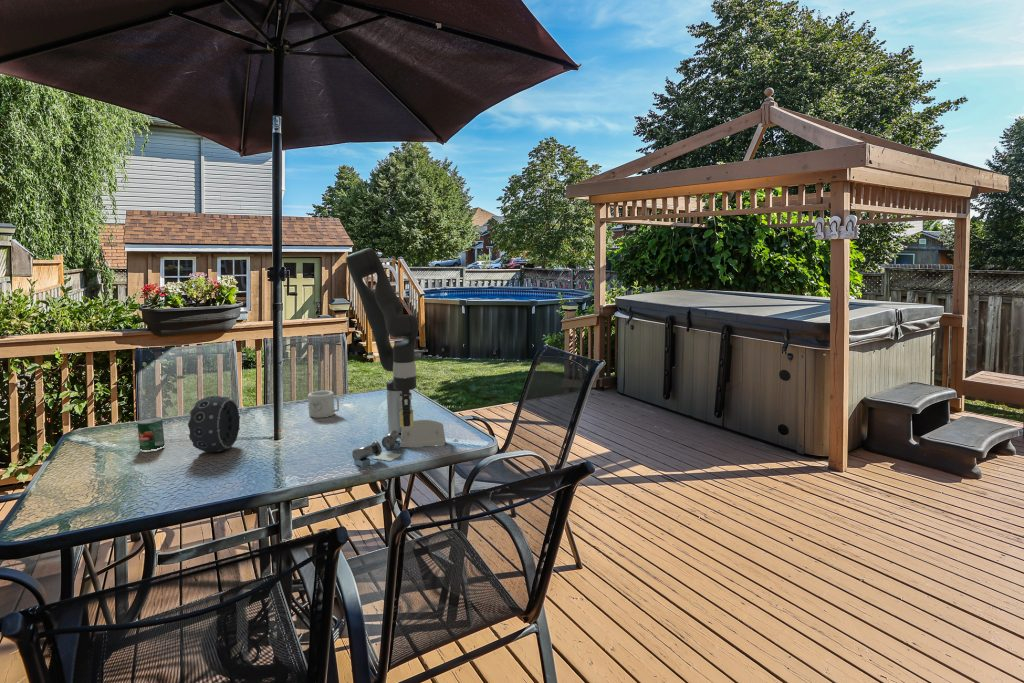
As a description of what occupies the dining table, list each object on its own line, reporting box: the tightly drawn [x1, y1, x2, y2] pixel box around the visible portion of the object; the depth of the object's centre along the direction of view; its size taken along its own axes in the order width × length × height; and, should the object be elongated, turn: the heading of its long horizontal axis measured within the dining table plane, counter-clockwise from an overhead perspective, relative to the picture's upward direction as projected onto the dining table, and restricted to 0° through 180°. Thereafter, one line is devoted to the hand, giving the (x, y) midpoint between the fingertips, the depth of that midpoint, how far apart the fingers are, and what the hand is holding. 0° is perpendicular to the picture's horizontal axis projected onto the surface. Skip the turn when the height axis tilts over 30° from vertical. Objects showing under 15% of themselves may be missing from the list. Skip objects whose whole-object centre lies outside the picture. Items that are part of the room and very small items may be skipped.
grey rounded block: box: [399, 419, 447, 448], centre depth 219 cm, size 17×5×10 cm, turn 96°
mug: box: [307, 390, 340, 419], centre depth 259 cm, size 14×11×10 cm
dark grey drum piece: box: [187, 395, 241, 453], centre depth 213 cm, size 11×20×20 cm, turn 2°
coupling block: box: [399, 409, 415, 427], centre depth 200 cm, size 4×4×4 cm
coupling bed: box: [371, 451, 402, 462], centre depth 206 cm, size 7×8×1 cm
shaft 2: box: [381, 430, 401, 450], centre depth 213 cm, size 9×5×6 cm, turn 179°
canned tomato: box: [136, 416, 166, 450], centre depth 216 cm, size 8×8×11 cm
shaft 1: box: [351, 441, 383, 468], centre depth 199 cm, size 9×5×6 cm, turn 138°
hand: (406, 423), depth 200 cm, fingers closed on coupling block, 4 cm apart
